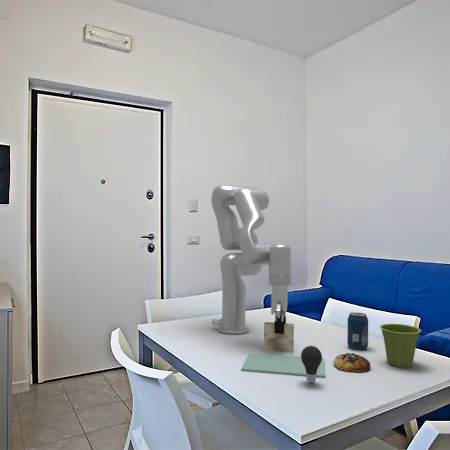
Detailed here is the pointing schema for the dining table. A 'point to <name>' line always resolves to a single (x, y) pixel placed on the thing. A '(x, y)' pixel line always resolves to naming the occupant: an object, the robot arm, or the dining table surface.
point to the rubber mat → (279, 365)
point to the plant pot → (400, 343)
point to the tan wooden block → (278, 338)
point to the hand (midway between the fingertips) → (280, 330)
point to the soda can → (357, 331)
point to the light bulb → (311, 362)
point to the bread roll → (352, 363)
